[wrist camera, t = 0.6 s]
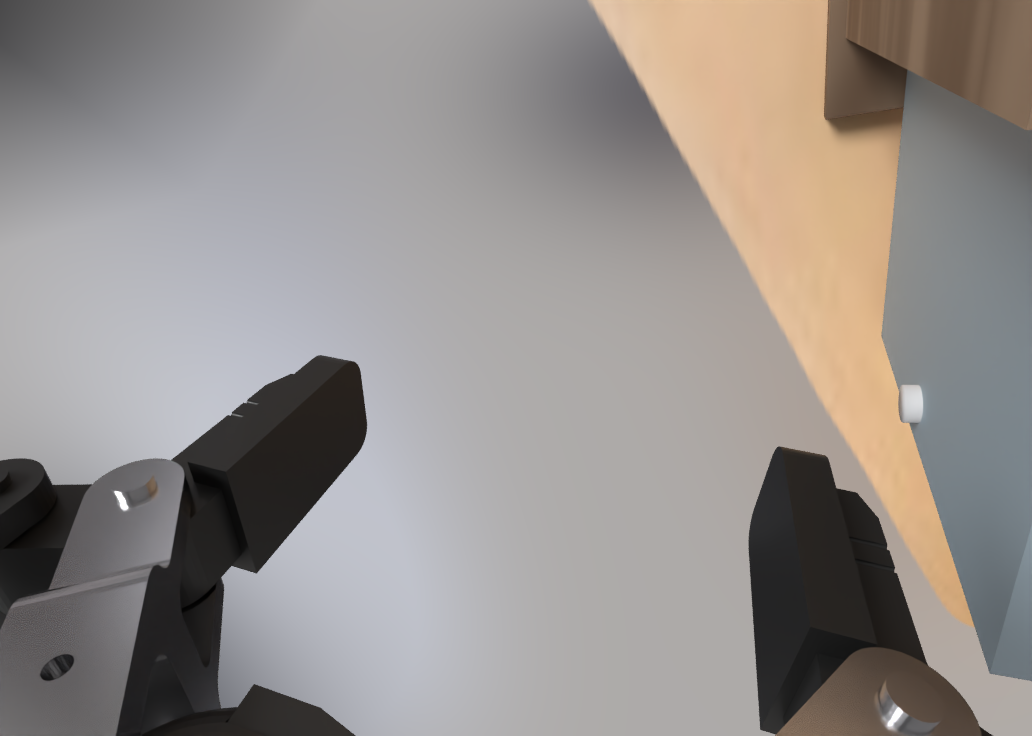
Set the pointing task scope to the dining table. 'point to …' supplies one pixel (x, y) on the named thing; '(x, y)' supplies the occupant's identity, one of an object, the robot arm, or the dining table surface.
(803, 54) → the dining table surface
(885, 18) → the door frame
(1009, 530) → the door
